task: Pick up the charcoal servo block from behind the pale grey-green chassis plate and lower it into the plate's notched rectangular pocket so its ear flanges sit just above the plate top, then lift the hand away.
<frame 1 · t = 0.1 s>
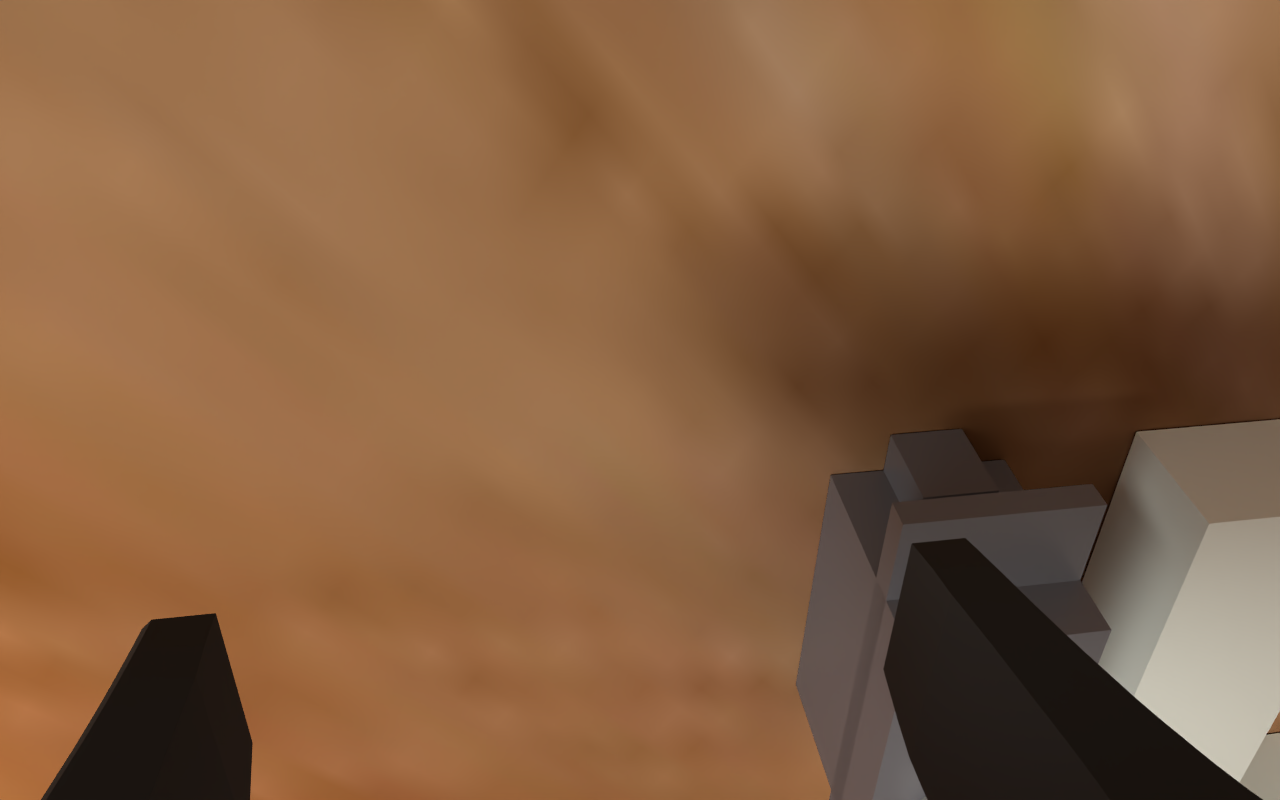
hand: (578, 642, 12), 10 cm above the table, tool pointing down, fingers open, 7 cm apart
chassis: (1265, 687, 33), on the table
servo: (893, 579, 28), on the table
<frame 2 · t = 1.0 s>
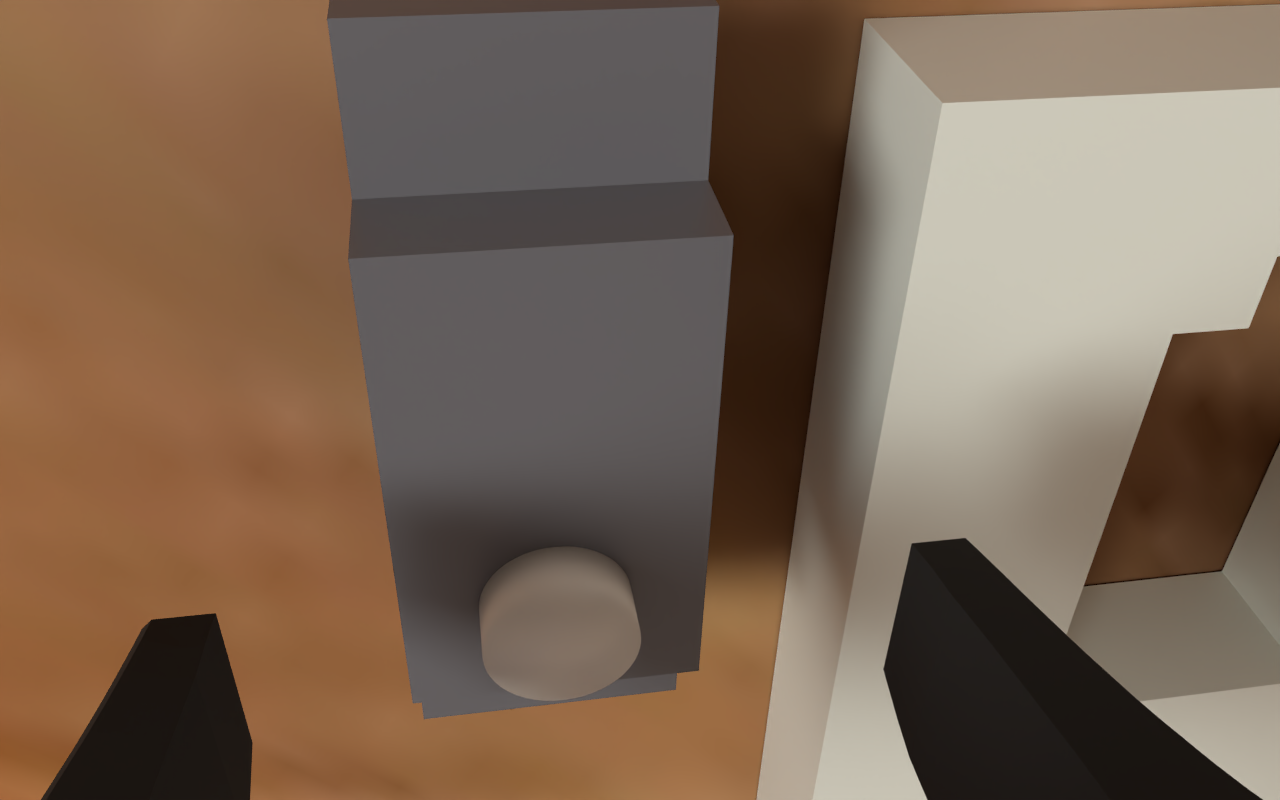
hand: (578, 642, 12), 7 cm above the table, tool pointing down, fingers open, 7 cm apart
chassis: (1130, 503, 23), on the table
servo: (519, 285, 18), on the table
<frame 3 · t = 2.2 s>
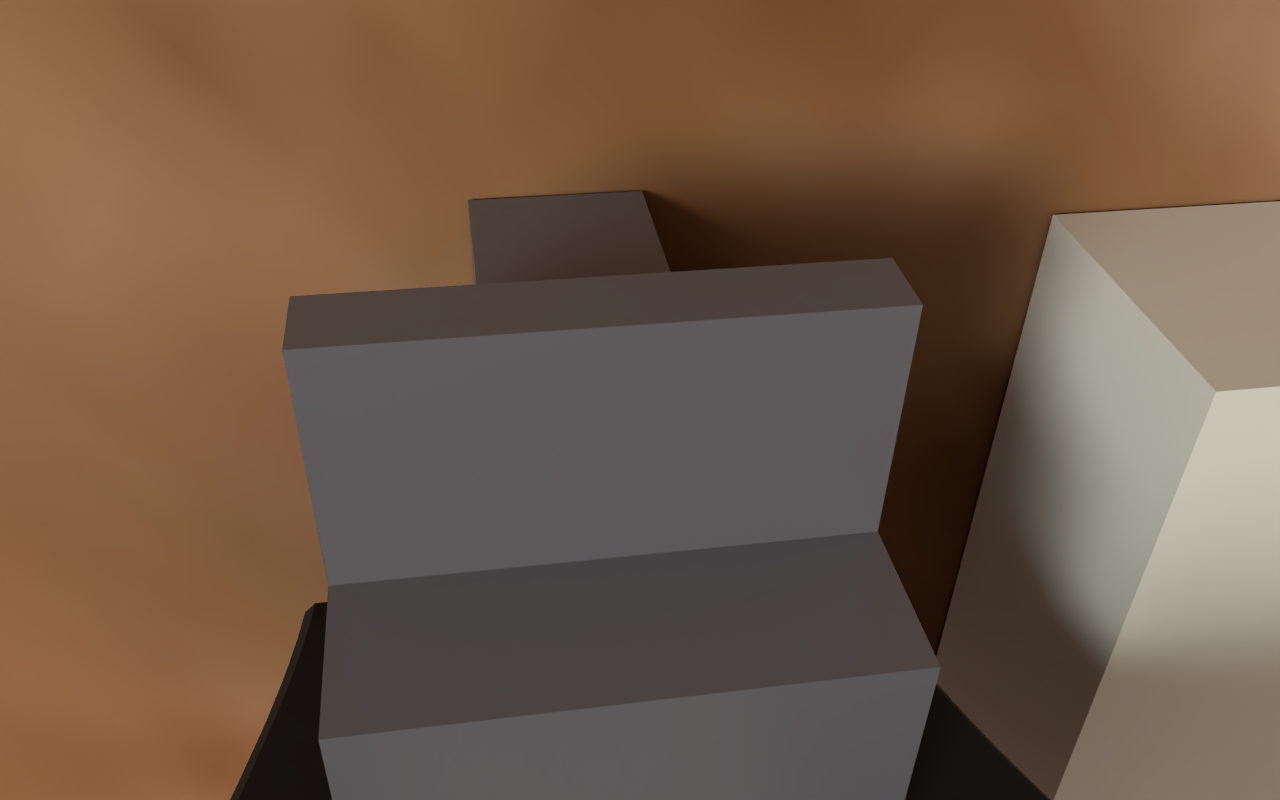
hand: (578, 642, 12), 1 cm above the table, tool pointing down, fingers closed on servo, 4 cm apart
servo: (563, 548, 13), on the table, touching gripper
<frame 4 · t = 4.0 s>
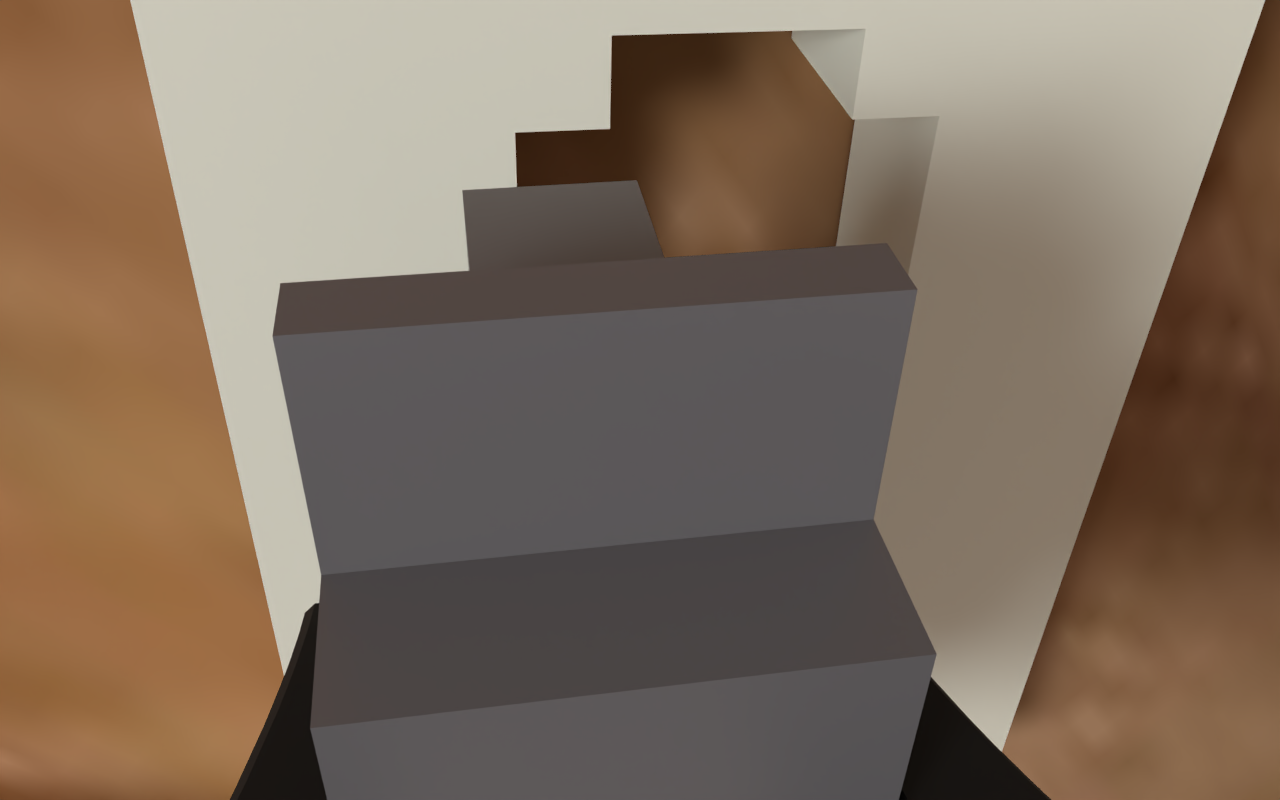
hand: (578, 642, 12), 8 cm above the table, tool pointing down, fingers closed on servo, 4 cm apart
chassis: (667, 383, 21), on the table
servo: (560, 541, 13), point 7 cm above the table, touching gripper
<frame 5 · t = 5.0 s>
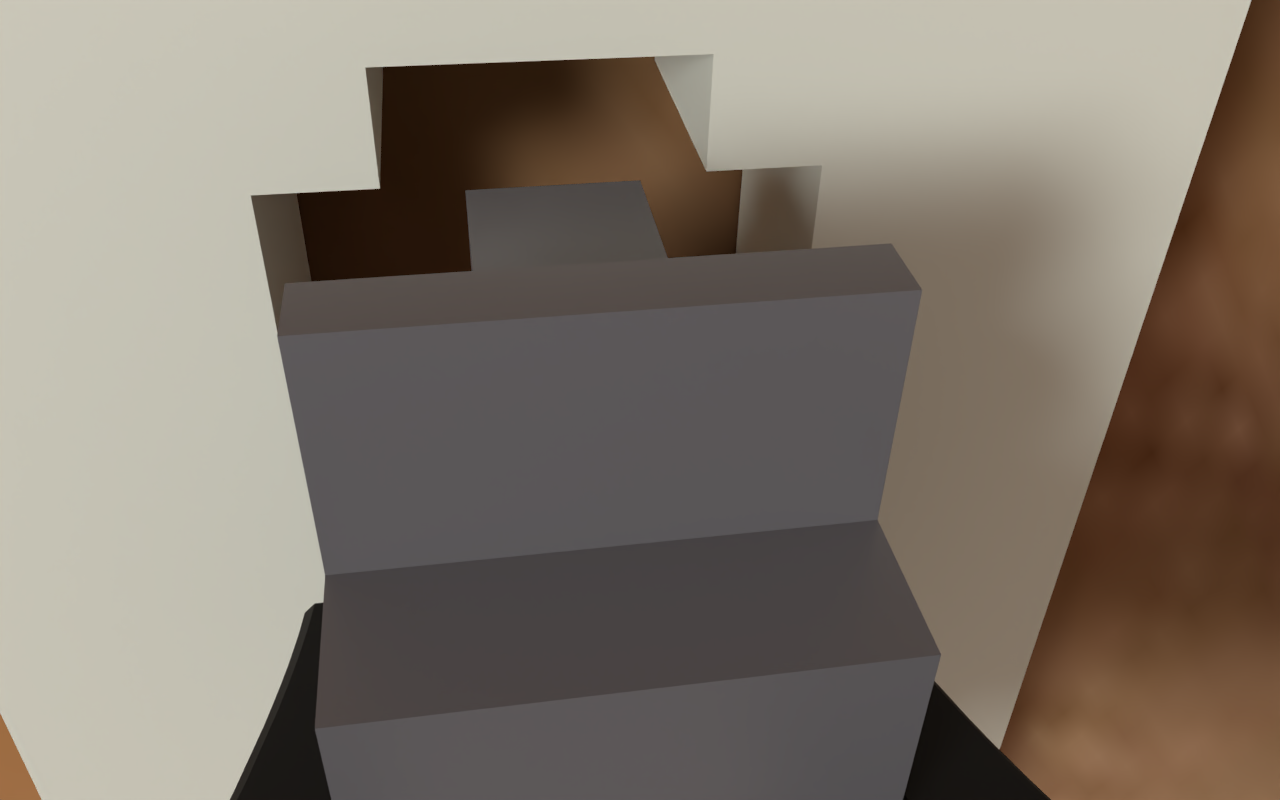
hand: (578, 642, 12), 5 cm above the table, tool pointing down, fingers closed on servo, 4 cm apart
chassis: (537, 471, 18), on the table
servo: (563, 541, 13), point 4 cm above the table, touching gripper
when the fingers open (3 cm above the table, at t = 5.8 s): servo drops 2 cm, resting in chassis.
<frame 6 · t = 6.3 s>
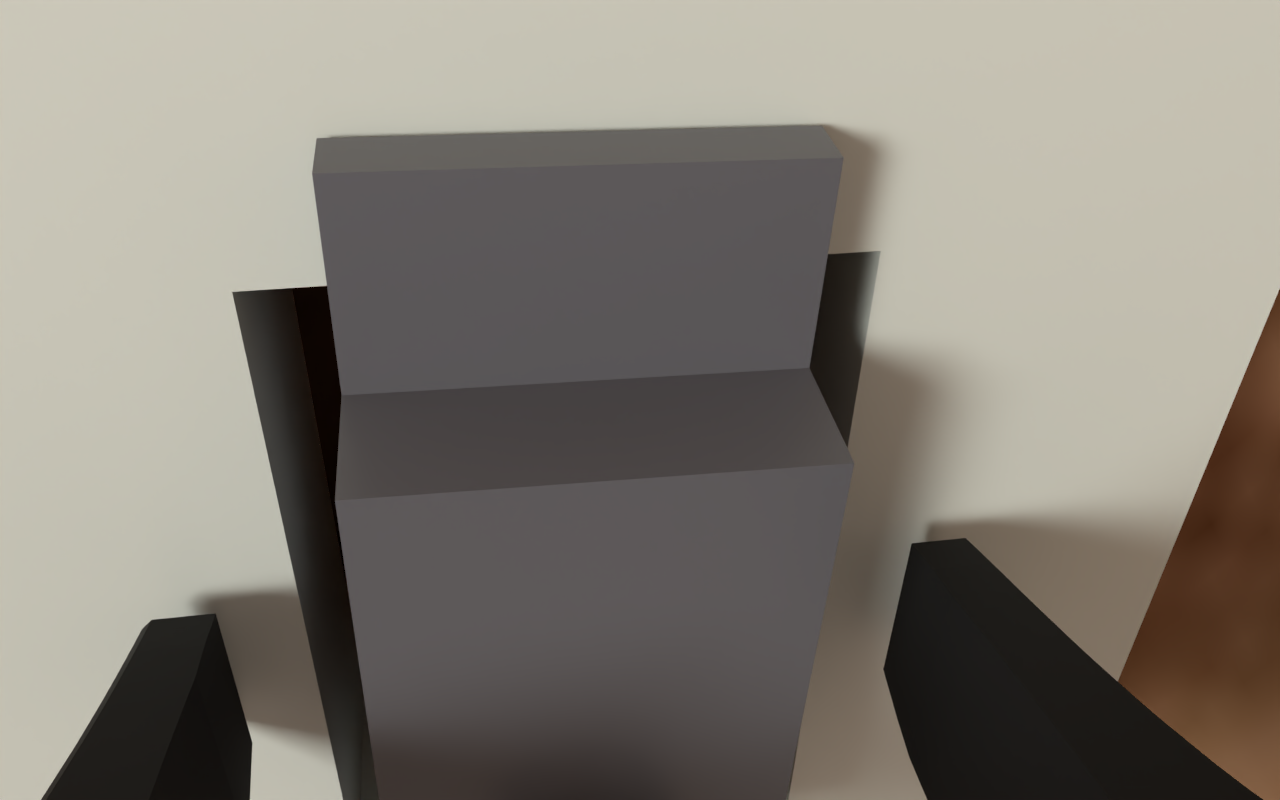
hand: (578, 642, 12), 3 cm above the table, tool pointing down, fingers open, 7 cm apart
chassis: (550, 552, 16), on the table
servo: (542, 432, 15), resting in chassis
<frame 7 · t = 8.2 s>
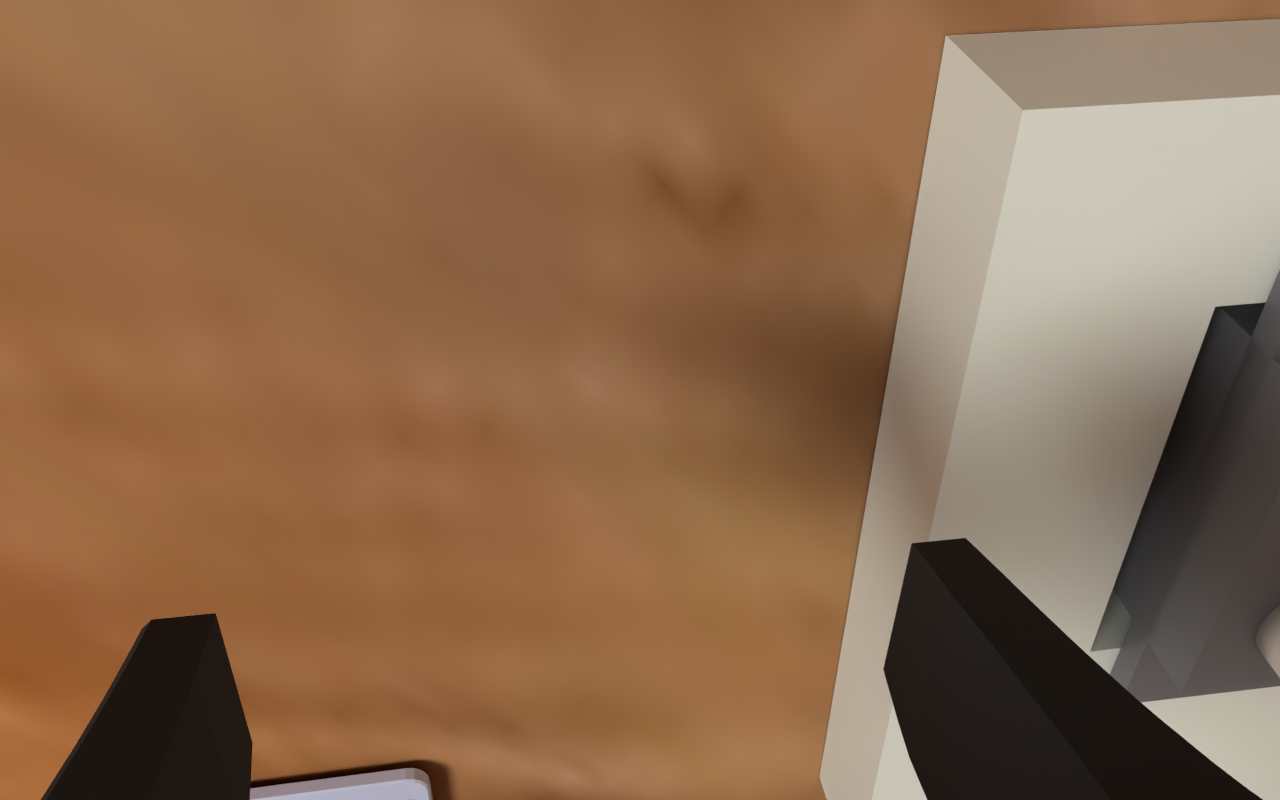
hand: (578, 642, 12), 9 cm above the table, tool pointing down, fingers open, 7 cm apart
chassis: (1170, 464, 26), on the table
servo: (1196, 386, 25), resting in chassis
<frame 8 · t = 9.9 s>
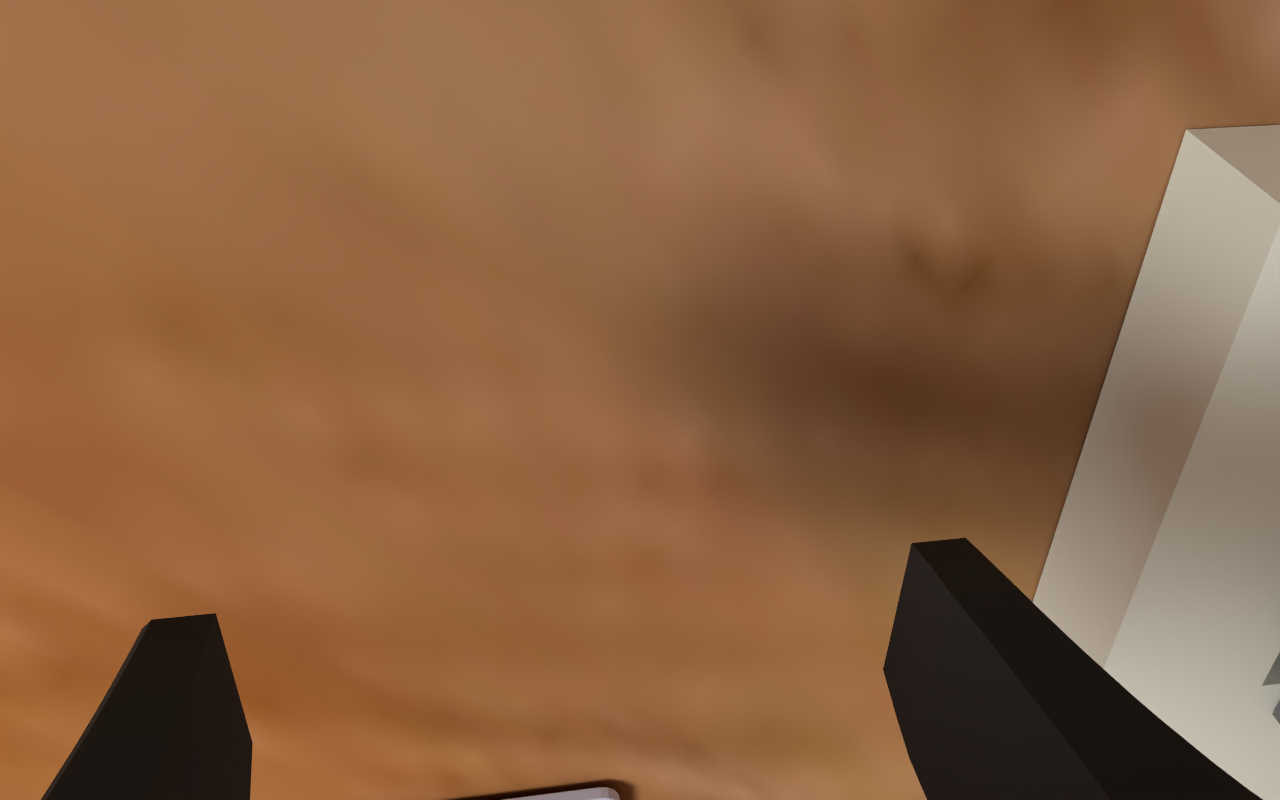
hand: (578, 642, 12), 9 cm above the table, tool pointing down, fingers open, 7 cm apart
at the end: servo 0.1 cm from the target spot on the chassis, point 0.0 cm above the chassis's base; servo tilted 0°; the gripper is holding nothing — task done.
